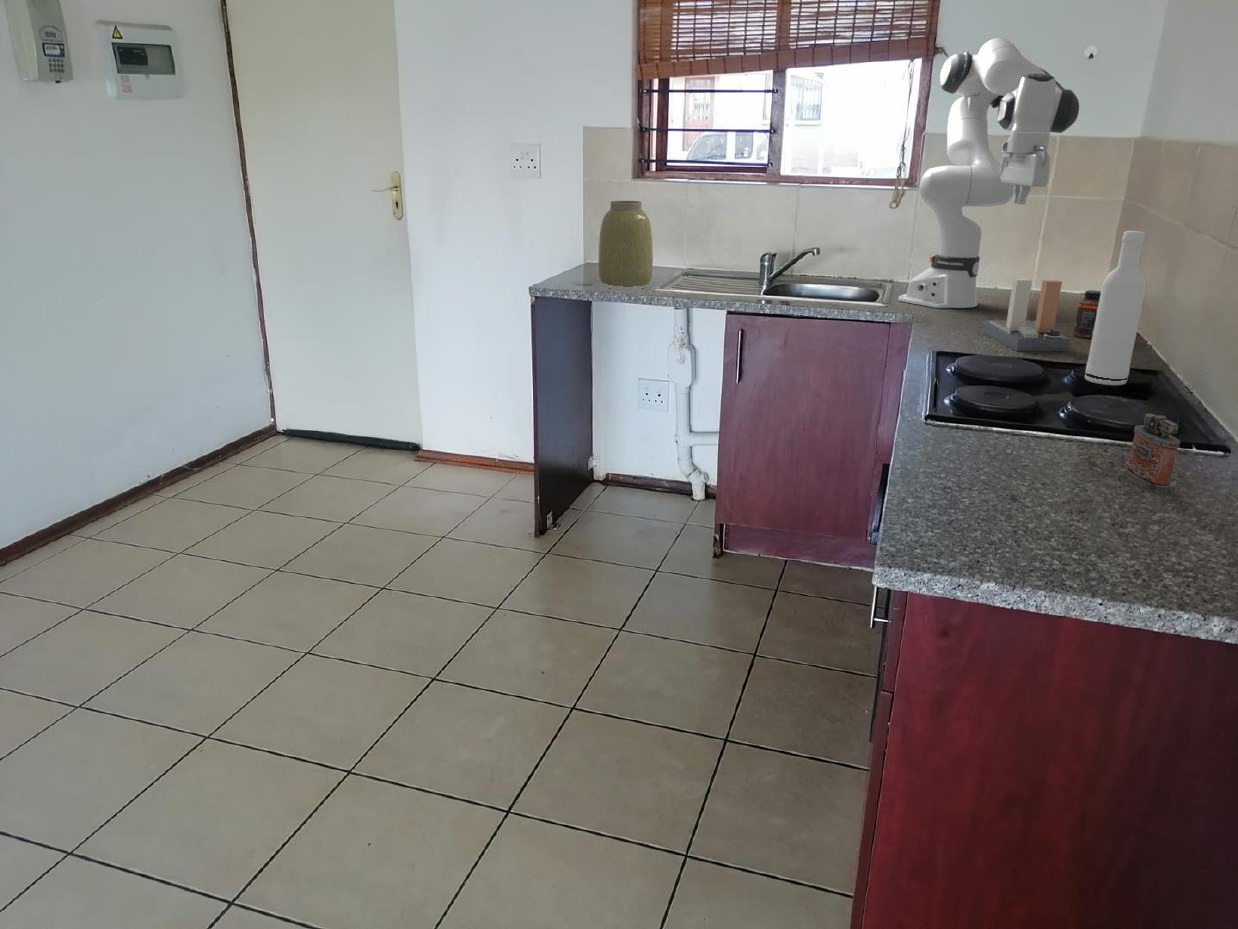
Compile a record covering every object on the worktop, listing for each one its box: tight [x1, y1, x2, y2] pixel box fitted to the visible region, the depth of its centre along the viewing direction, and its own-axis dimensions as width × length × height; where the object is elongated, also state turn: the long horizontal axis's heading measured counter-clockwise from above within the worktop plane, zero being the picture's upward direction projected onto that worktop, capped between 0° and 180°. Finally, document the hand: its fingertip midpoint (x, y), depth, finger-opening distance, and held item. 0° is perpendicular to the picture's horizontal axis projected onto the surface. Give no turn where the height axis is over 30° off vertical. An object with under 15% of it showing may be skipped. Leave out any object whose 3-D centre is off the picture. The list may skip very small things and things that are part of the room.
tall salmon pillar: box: [1035, 279, 1063, 332], centre depth 215 cm, size 2×4×12 cm
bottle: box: [1084, 230, 1147, 386], centre depth 182 cm, size 8×8×30 cm
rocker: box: [1018, 327, 1039, 338], centre depth 212 cm, size 4×3×1 cm
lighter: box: [1124, 413, 1181, 493], centre depth 132 cm, size 8×3×10 cm, turn 5°
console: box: [981, 319, 1070, 352], centre depth 221 cm, size 21×12×4 cm, turn 0°
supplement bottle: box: [1073, 289, 1101, 339], centre depth 225 cm, size 6×6×11 cm
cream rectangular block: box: [1006, 278, 1033, 331], centre depth 217 cm, size 2×4×12 cm
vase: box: [598, 200, 654, 289], centre depth 286 cm, size 17×17×27 cm
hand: (1019, 203), depth 227 cm, fingers closed
